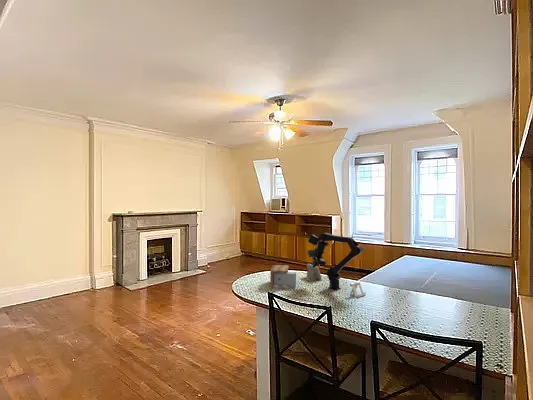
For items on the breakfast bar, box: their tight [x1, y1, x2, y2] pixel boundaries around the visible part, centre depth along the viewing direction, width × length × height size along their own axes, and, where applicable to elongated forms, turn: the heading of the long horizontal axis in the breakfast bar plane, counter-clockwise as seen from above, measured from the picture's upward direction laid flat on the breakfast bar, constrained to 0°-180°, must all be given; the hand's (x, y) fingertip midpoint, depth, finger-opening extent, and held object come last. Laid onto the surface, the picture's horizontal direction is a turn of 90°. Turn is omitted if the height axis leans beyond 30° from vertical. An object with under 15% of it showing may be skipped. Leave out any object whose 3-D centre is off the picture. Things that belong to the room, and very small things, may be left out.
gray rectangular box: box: [274, 271, 297, 288], centre depth 232 cm, size 16×5×10 cm, turn 82°
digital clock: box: [306, 263, 323, 281], centre depth 256 cm, size 16×9×11 cm, turn 11°
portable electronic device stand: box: [349, 280, 367, 298], centre depth 212 cm, size 9×8×8 cm
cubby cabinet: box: [269, 264, 290, 289], centre depth 237 cm, size 14×18×12 cm
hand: (313, 267), depth 237 cm, fingers closed
